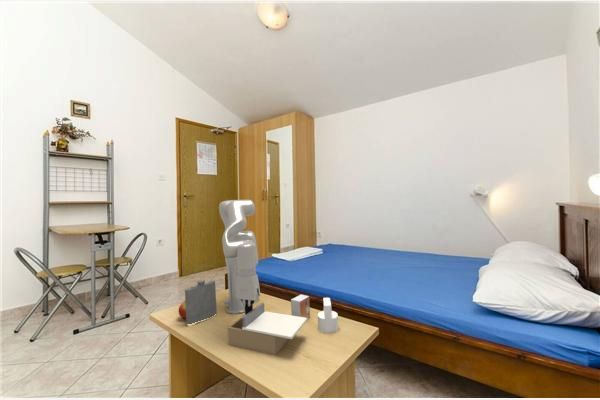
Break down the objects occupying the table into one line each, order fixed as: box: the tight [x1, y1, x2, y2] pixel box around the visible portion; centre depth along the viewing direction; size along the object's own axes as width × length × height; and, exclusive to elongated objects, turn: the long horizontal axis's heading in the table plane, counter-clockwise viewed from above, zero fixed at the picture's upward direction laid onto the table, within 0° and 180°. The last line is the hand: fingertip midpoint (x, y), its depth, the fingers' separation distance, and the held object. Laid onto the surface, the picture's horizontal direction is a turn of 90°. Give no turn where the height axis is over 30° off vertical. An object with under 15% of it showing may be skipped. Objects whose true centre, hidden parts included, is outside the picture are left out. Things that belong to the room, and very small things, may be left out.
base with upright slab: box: [317, 297, 339, 334], centre depth 119 cm, size 9×9×12 cm
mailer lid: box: [241, 302, 308, 340], centre depth 109 cm, size 22×16×5 cm
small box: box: [290, 293, 311, 320], centre depth 129 cm, size 8×6×10 cm
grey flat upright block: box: [184, 279, 218, 325], centre depth 132 cm, size 16×4×20 cm, turn 140°
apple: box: [178, 301, 186, 319], centre depth 135 cm, size 8×8×10 cm
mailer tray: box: [227, 314, 289, 355], centre depth 112 cm, size 22×16×7 cm
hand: (249, 313), depth 114 cm, fingers closed
